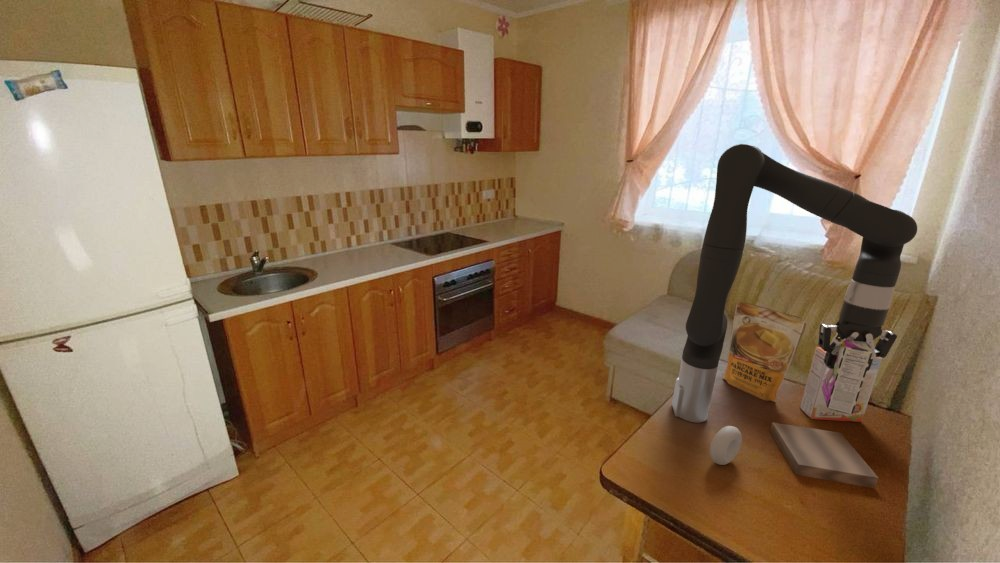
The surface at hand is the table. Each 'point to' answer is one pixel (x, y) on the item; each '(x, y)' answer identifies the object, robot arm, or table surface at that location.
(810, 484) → the table surface
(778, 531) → the table surface
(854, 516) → the table surface
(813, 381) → the cracker box
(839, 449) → the metal panel
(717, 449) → the white oval stone
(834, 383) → the candy bar box
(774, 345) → the pancake mix bag
